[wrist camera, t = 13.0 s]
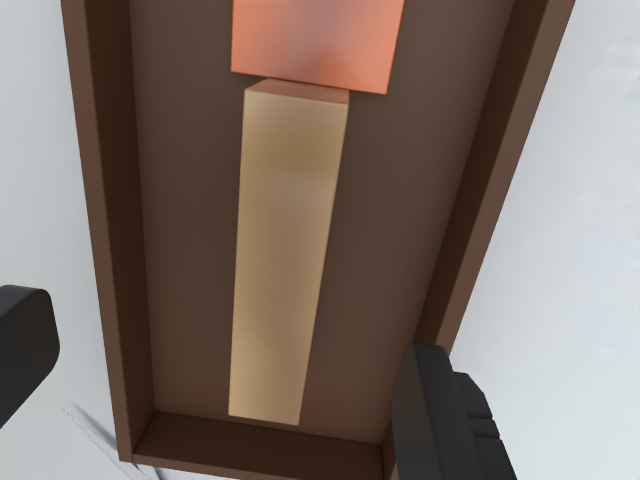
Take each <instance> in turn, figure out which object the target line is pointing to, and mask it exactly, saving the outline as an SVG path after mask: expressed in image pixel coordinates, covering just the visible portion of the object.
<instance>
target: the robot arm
mask: <svg viewBox="0 0 640 480" xmlns="http://www.w3.org/2000/svg"><path fill="white" fill-rule="evenodd" d="M59 351H60V343H59V337H58V332H57V327H56V322H55V317H54V312H53V306H52V301H51V297H50V295H49V293H48V292H47V291H46V290H43V289H37V288H30V287H23V286H15V285H4V286H1V287H0V429H1V428H2V426H3V425H4V424H5V423H6V422H7V421H8V420H9V419H10V417H11V416H12V415H13V414H14V413H15V412H16V411H17V410H18V408H19V407H20V406H21V405H22V404H23V403H24V402H25V400H26V399H27V398H28V397H29V396H30V395H31V394H32V393H33V391H34V390H35V389H36V388H37V387H38V386H39V385H40V384H41V382H42V381H43V380H44V379H45V378H46V377H47V376H48V374H49V373H50V372H51V371H52V369H53V368H54V366H55V364H56V362H57V359H58V356H59ZM391 418H392V428H393V436H394V444H395V453H396V461H397V469H398V478H399V480H517V478H516V475H515V473H514V470H513V467H512V465H511V462H510V460H509V457H508V455H507V452H506V449H505V447H504V444H503V442H502V440H500V434H499V431H498V429H497V426H496V424H495V421H494V420H492V413H491V411H490V408H489V406H488V403H487V400H486V398H485V395H484V393H483V392H482V391H481V390H480V388H479V387H478V386H477V385H476V384H475V382H474V381H473V380H472V379H471V378H470V376H469V375H468V374H467V373H460V372H453V369H452V366H451V363H450V360H449V357H448V354H447V351H446V349H445V347H444V346H440V345H433V344H426V343H419V342H412V341H410V342H409V343H408V344H407V346H406V349H405V353H404V356H403V360H402V363H401V367H400V370H399V374H398V377H397V381H396V384H395V388H394V392H393V397H392V408H391Z"/></svg>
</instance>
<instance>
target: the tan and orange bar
mask: <svg viewBox="0 0 640 480" xmlns="http://www.w3.org/2000/svg"><path fill="white" fill-rule="evenodd" d="M404 3H405V0H233V10H232V39H231V69H230V70H231V72H233V73H240V74H247V75H253V76H260V77H267V79H265V80H263V81H261V82H259V83H257V84H255V85H253V86H251V87H249V88H247V89H245V91H244V105H243V125H242V145H241V166H240V186H239V206H238V227H237V247H236V267H235V288H234V308H233V328H232V349H231V369H230V390H229V410H228V413H229V415H232V416H239V417H245V418H252V419H258V420H265V421H272V422H278V423H285V424H291V425H298V424H299V418H300V412H301V406H302V400H303V393H304V387H305V381H306V375H307V368H308V362H309V356H310V349H311V343H312V337H313V331H314V324H315V318H316V312H317V305H318V299H319V293H320V287H321V280H322V274H323V268H324V262H325V255H326V249H327V243H328V236H329V230H330V224H331V218H332V211H333V205H334V199H335V192H336V186H337V180H338V174H339V167H340V161H341V155H342V148H343V142H344V136H345V130H346V123H347V117H348V111H349V95H350V90H353V91H360V92H367V93H373V94H380V95H386V94H387V90H388V85H389V80H390V75H391V70H392V64H393V59H394V54H395V49H396V44H397V39H398V34H399V29H400V24H401V18H402V13H403V8H404Z"/></svg>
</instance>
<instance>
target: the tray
mask: <svg viewBox="0 0 640 480" xmlns="http://www.w3.org/2000/svg"><path fill="white" fill-rule="evenodd" d="M60 1H61V9H62V16H63V24H64V32H65V40H66V48H67V56H68V64H69V71H70V79H71V87H72V95H73V103H74V111H75V119H76V126H77V134H78V142H79V150H80V158H81V166H82V174H83V181H84V189H85V197H86V205H87V213H88V221H89V229H90V236H91V244H92V252H93V260H94V268H95V276H96V284H97V291H98V299H99V307H100V315H101V323H102V331H103V338H104V346H105V354H106V362H107V370H108V378H109V386H110V393H111V401H112V409H113V417H114V425H115V433H116V441H117V448H118V456H119V461H121V462H127V463H135V464H141V465H147V466H154V467H161V468H167V469H174V470H180V471H187V472H193V473H200V474H207V475H213V476H220V477H226V478H233V479H239V480H399V478H398V469H397V461H396V453H395V444H394V436H393V428H392V418H391V408H392V397H393V392H394V388H395V384H396V381H397V377H398V374H399V370H400V367H401V363H402V360H403V356H404V353H405V349H406V346H407V344H408V343H409V342H410V341H412V342H419V343H426V344H433V345H440V346H444V347H445V349H446V351H447V354H448V357H449V355H450V352H451V349H452V347H453V344H454V341H455V338H456V335H457V333H458V330H459V327H460V324H461V321H462V318H463V316H464V313H465V310H466V307H467V304H468V302H469V299H470V296H471V293H472V290H473V288H474V285H475V282H476V279H477V276H478V273H479V271H480V268H481V265H482V262H483V259H484V257H485V254H486V251H487V248H488V245H489V243H490V240H491V237H492V234H493V231H494V229H495V226H496V223H497V220H498V217H499V214H500V212H501V209H502V206H503V203H504V200H505V198H506V195H507V192H508V189H509V186H510V184H511V181H512V178H513V175H514V172H515V169H516V167H517V164H518V161H519V158H520V155H521V153H522V150H523V147H524V144H525V141H526V139H527V136H528V133H529V130H530V127H531V124H532V122H533V119H534V116H535V113H536V110H537V108H538V105H539V102H540V99H541V96H542V94H543V91H544V88H545V85H546V82H547V79H548V77H549V74H550V71H551V68H552V65H553V63H554V60H555V57H556V54H557V51H558V49H559V46H560V43H561V40H562V37H563V34H564V32H565V29H566V26H567V23H568V20H569V18H570V15H571V12H572V9H573V6H574V4H575V1H576V0H405V3H404V8H403V13H402V18H401V24H400V29H399V34H398V39H397V44H396V49H395V54H394V59H393V64H392V70H391V75H390V80H389V85H388V90H387V94H386V95H380V94H373V93H367V92H360V91H353V90H350V95H349V111H348V117H347V123H346V130H345V136H344V142H343V148H342V155H341V161H340V167H339V174H338V180H337V186H336V192H335V199H334V205H333V211H332V218H331V224H330V230H329V236H328V243H327V249H326V255H325V262H324V268H323V274H322V280H321V287H320V293H319V299H318V305H317V312H316V318H315V324H314V331H313V337H312V343H311V349H310V356H309V362H308V368H307V375H306V381H305V387H304V393H303V400H302V406H301V412H300V418H299V424H298V425H291V424H285V423H278V422H272V421H265V420H258V419H252V418H245V417H239V416H232V415H229V413H228V410H229V390H230V369H231V349H232V328H233V308H234V288H235V267H236V247H237V227H238V206H239V186H240V166H241V145H242V125H243V105H244V91H245V89H247V88H249V87H251V86H253V85H255V84H257V83H259V82H261V81H263V80H265V79H267V77H260V76H253V75H247V74H240V73H233V72H231V70H230V69H231V39H232V10H233V0H60Z"/></svg>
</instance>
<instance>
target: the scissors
mask: <svg viewBox="0 0 640 480" xmlns="http://www.w3.org/2000/svg"><path fill="white" fill-rule="evenodd" d="M63 410H64V409H63ZM64 411H65V410H64ZM65 412H66V411H65ZM66 414H67V415H68V416H69V417H70V418H71V419H72V420H73V421H74V422H75V423H76V424H77V425H78V426H79V427H80V428H81V429H82V430H83V432H84V433H85V434H86V435H87V436H88V437H89V438H90V439H91V440H92V441H93V442H94V443H95V444H96V445H97V446H98V447H99V448H100V449H101V451H102V452H103V453H104V454H105V455H106V456H107V457H108V458H109V459H110V460H111V461H112V462H113V463H114V464H115V465H116V466H117V467H118V468H119V469H120V470H121V471H122V472H123V473H125V474H126V475H127V476H128V477H129V478H130V479H131V480H160V479H159V477H158V475H157V472H156V470H155V468H154V466H147V465H141V464H137V466H138V468H139V470H138V469H137V468H136V467H135V466H134V465H132V464H131V463H127V462H121V461H119V456H118V452H116V451H115V450H114V449H113V448H112V447H110V446H109V445H108V444H107V443H105V442H104V441H103V440H101V439H100V438H99V437H98V436H96V435H95V434H94V433H93V432H91V431H90V430H89V429H88V428H86V427H85V426H84V425H83V424H81V423H80V422H79V421H78V420H76V419H75V418H74V417H72V416H71V415H70V414H69V413H67V412H66Z"/></svg>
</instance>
